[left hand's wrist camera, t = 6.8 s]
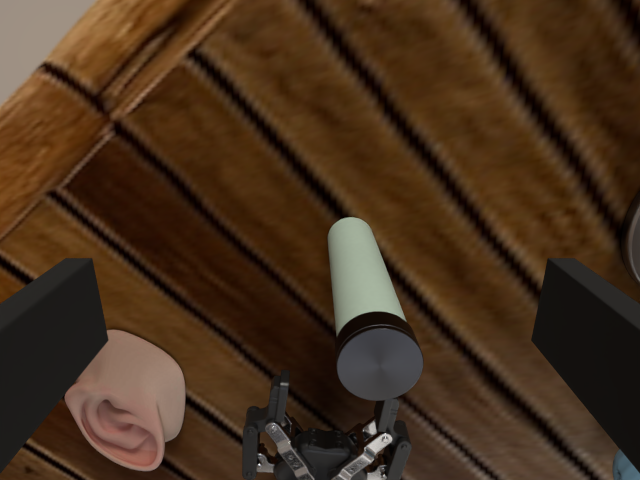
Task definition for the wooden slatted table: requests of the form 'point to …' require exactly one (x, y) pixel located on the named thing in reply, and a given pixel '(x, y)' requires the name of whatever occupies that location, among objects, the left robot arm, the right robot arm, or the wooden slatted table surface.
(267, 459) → the right robot arm
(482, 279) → the wooden slatted table surface
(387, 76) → the wooden slatted table surface
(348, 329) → the lid
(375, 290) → the pale green cylinder
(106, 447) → the anatomical model
